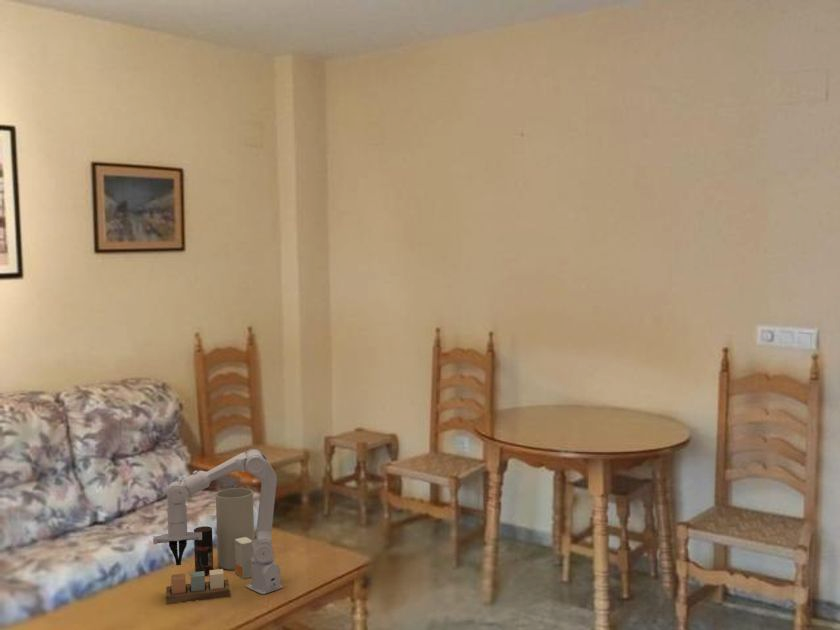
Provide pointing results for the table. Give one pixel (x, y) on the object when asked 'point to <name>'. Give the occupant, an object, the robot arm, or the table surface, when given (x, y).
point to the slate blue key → (197, 581)
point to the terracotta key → (178, 583)
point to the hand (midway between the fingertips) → (178, 564)
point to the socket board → (197, 593)
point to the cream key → (216, 579)
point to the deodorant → (204, 550)
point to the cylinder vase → (233, 522)
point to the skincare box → (243, 557)
